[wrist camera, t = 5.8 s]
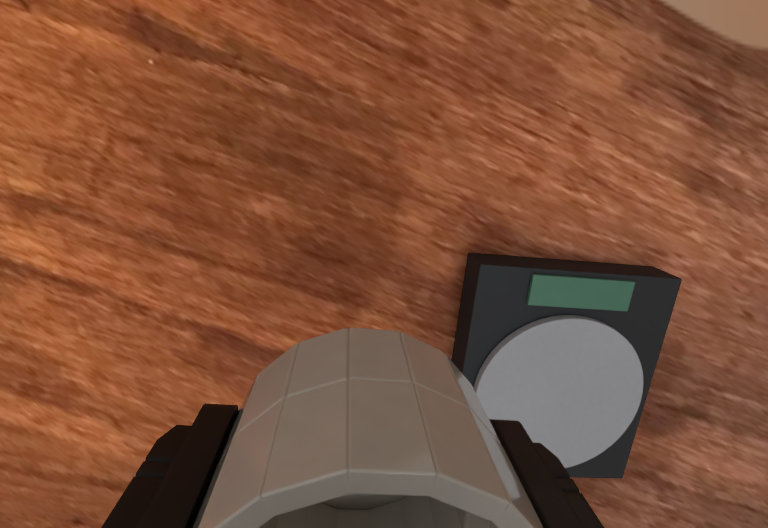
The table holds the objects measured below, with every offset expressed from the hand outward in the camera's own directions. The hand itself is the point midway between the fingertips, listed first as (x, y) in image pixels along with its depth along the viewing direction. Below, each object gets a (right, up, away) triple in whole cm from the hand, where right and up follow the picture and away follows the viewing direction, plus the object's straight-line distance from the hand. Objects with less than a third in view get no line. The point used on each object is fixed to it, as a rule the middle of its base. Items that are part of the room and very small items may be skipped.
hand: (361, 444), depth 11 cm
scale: (+11, -2, +18) cm, 21 cm away
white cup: (0, 0, +1) cm, 1 cm away
